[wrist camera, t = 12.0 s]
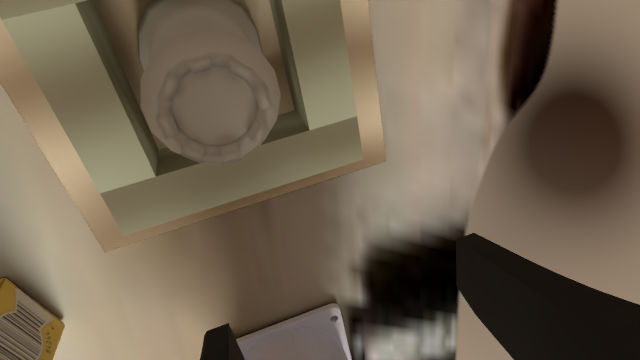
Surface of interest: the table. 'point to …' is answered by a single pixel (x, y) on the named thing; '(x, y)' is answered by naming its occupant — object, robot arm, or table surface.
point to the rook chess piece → (205, 79)
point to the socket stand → (151, 153)
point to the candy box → (26, 326)
